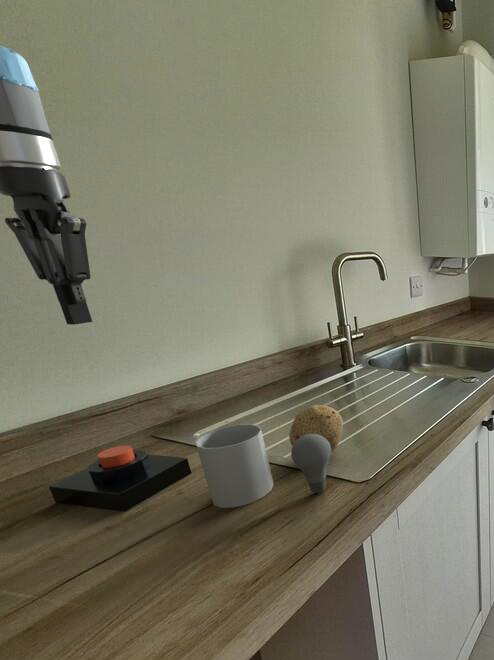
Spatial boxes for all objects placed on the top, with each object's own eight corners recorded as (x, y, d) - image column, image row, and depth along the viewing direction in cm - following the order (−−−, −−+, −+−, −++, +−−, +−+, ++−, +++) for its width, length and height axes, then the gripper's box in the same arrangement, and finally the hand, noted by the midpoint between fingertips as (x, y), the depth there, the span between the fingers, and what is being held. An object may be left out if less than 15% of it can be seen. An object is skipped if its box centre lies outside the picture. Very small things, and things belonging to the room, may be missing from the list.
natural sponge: (292, 472, 71) (281, 419, 68) (295, 449, 79) (286, 401, 76) (348, 461, 75) (340, 410, 71) (346, 441, 82) (338, 394, 79)
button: (94, 468, 64) (90, 456, 63) (121, 455, 68) (118, 444, 67) (115, 470, 63) (111, 458, 63) (141, 457, 67) (138, 446, 66)
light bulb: (344, 484, 67) (335, 429, 64) (324, 504, 62) (313, 445, 59) (314, 481, 68) (303, 426, 65) (291, 500, 63) (279, 442, 60)
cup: (199, 500, 63) (182, 442, 60) (249, 474, 71) (236, 421, 67) (237, 512, 60) (220, 452, 57) (285, 484, 68) (273, 429, 64)
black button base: (55, 503, 63) (43, 474, 61) (130, 466, 73) (121, 441, 72) (124, 511, 61) (114, 482, 59) (191, 473, 71) (184, 447, 69)
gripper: (90, 171, 64) (134, 320, 72) (26, 174, 67) (76, 317, 74) (28, 162, 57) (84, 328, 65) (-40, 165, 60) (22, 325, 67)
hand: (80, 322), depth 70 cm, fingers closed
